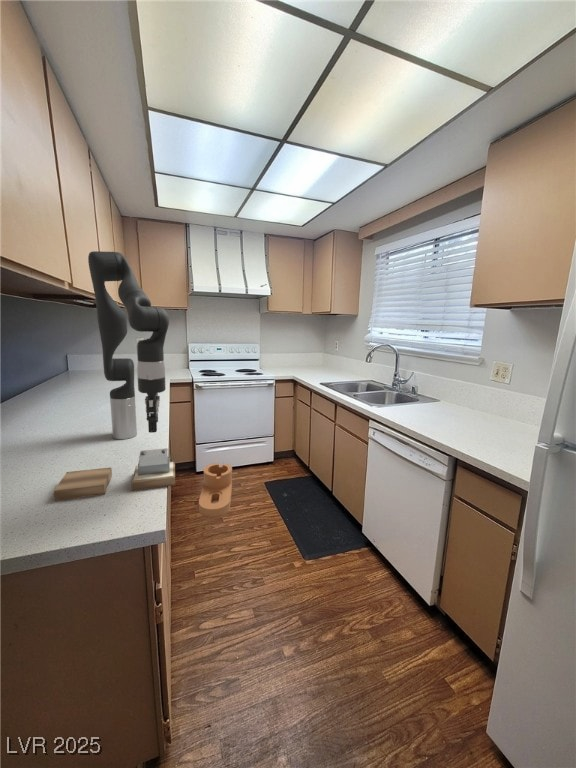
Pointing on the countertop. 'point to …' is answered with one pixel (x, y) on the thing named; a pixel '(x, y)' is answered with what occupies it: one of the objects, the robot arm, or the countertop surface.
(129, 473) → the countertop surface
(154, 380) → the robot arm
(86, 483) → the stand
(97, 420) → the countertop surface
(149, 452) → the block
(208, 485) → the bracket
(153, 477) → the stand
